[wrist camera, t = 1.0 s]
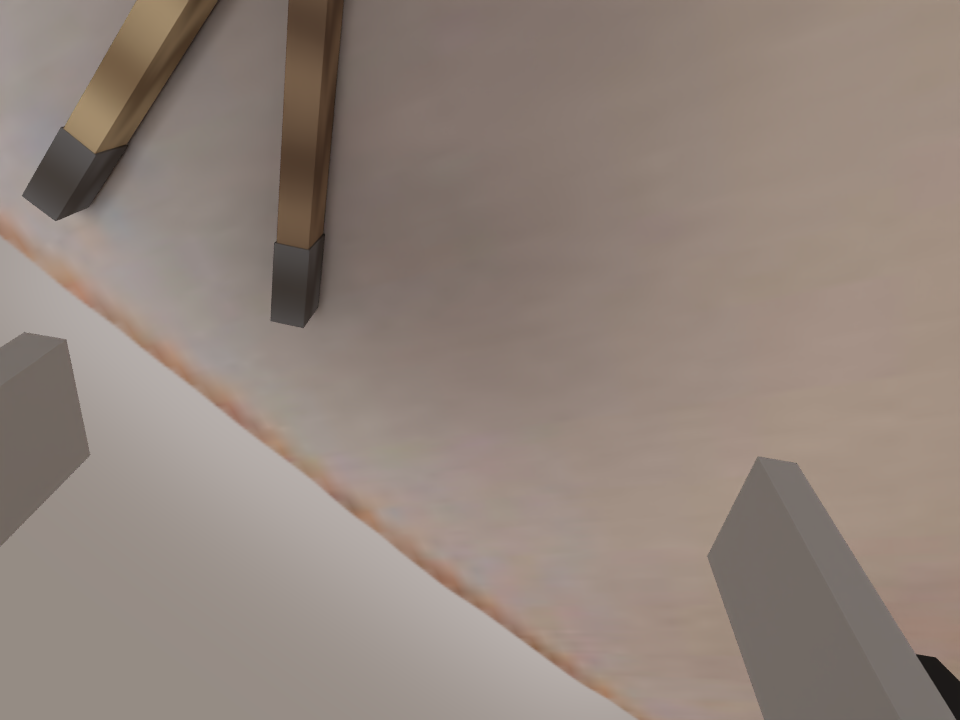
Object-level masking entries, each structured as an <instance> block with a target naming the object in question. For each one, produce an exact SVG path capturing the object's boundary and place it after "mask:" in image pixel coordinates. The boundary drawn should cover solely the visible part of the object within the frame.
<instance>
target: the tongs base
mask: <svg viewBox="0 0 960 720" xmlns="http://www.w3.org/2000/svg"><path fill="white" fill-rule="evenodd" d="M343 3H344V0H289V5H288V25H287V45H286V65H285V85H284V105H283V126H282V146H281V166H280V186H279V206H278V226H277V241H276V242H275V243H274V259H273V280H272V301H271V321H273V322H277V323H282V324H287V325H292V326H296V327H301V328H304V327H305V325H306V324H307V322H308V321H309V319H310V318H311V317H312V315H313V314H314V312H315V311H316V309H317V308H318V303H319V291H320V280H321V269H322V258H323V247H324V236H325V234H323V229H324V217H325V206H326V195H327V183H328V172H329V161H330V149H331V138H332V127H333V116H334V104H335V93H336V82H337V70H338V59H339V48H340V36H341V25H342V14H343Z"/></svg>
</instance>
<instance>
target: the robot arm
mask: <svg viewBox="0 0 960 720" xmlns="http://www.w3.org/2000/svg"><path fill="white" fill-rule="evenodd" d="M89 456H90V452H89V447H88V442H87V437H86V432H85V428H84V423H83V418H82V413H81V408H80V403H79V399H78V394H77V389H76V384H75V380H74V374H73V369H72V364H71V360H70V355H69V350H68V345H67V340H66V339H61V338H55V337H49V336H43V335H37V334H31V333H25V332H24V333H23V334H21V335H19V336H18V337H16V338H15V339H13V340H12V341H10V342H9V343H7V344H5V345H4V346H2V347H0V546H1V545H2V544H3V543H4V542H5V541H6V540H7V539H8V538H9V537H10V536H11V535H12V534H13V533H14V532H15V531H16V530H17V529H18V528H19V527H20V526H21V525H22V524H23V523H24V522H25V521H26V520H27V519H28V518H29V517H30V516H31V515H32V514H33V513H34V512H35V511H36V510H37V508H39V507H40V506H41V505H42V504H43V503H44V501H46V499H48V498H49V497H50V495H52V494H53V493H54V491H55V490H57V489H58V487H59V486H60V485H61V484H62V483H63V482H64V481H65V480H66V479H67V478H68V477H69V476H70V475H71V474H72V473H73V472H74V471H75V470H76V469H77V468H78V467H79V466H80V465H81V464H82V463H83V462H84V461H85V460H86V459H87V458H88V457H89ZM707 557H708V560H709V563H710V565H711V568H712V571H713V574H714V577H715V580H716V583H717V586H718V588H719V591H720V594H721V597H722V600H723V603H724V606H725V608H726V611H727V614H728V617H729V620H730V623H731V626H732V629H733V631H734V634H735V637H736V640H737V643H738V646H739V649H740V652H741V654H742V657H743V660H744V663H745V666H746V669H747V672H748V675H749V677H750V680H751V683H752V686H753V689H754V692H755V695H756V698H757V700H758V703H759V706H760V709H761V712H762V715H763V718H764V720H960V681H959V680H958V679H957V678H956V677H955V676H954V675H953V674H952V673H951V672H950V671H949V670H948V669H947V668H946V667H945V666H944V665H943V664H942V663H941V662H940V661H939V660H938V659H937V658H936V657H930V656H924V655H917V654H915V653H914V651H913V649H912V648H911V646H910V644H909V643H908V641H907V640H906V638H905V636H904V635H903V633H902V632H901V630H900V628H899V627H898V625H897V624H896V622H895V620H894V619H893V617H892V616H891V614H890V612H889V611H888V609H887V608H886V606H885V604H884V603H883V601H882V599H881V598H880V596H879V595H878V593H877V591H876V590H875V588H874V587H873V585H872V583H871V582H870V580H869V579H868V577H867V575H866V574H865V572H864V571H863V569H862V567H861V566H860V564H859V563H858V561H857V559H856V558H855V556H854V554H853V553H852V551H851V550H850V548H849V546H848V545H847V543H846V542H845V540H844V538H843V537H842V535H841V534H840V532H839V530H838V529H837V527H836V526H835V524H834V522H833V521H832V519H831V517H830V516H829V514H828V513H827V511H826V509H825V508H824V506H823V505H822V503H821V501H820V500H819V498H818V497H817V495H816V493H815V492H814V490H813V489H812V487H811V485H810V484H809V482H808V481H807V479H806V477H805V476H804V474H803V472H802V471H801V469H800V468H799V466H798V464H797V463H794V462H788V461H782V460H776V459H770V458H764V457H757V459H756V461H755V463H754V465H753V467H752V469H751V471H750V473H749V475H748V477H747V479H746V481H745V483H744V485H743V487H742V489H741V491H740V493H739V495H738V496H737V498H736V500H735V502H734V504H733V506H732V508H731V510H730V512H729V514H728V516H727V518H726V520H725V522H724V524H723V526H722V528H721V530H720V532H719V534H718V536H717V538H716V540H715V542H714V544H713V546H712V548H711V550H710V552H709V554H708V556H707Z"/></svg>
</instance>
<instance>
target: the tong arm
mask: <svg viewBox="0 0 960 720" xmlns="http://www.w3.org/2000/svg"><path fill="white" fill-rule="evenodd" d="M217 1H218V0H137V1H136V3H135V4H134V6H133V8H132V10H131V11H130V13H129V15H128V17H127V18H126V20H125V22H124V24H123V25H122V27H121V29H120V31H119V32H118V34H117V36H116V38H115V39H114V41H113V43H112V45H111V46H110V48H109V50H108V51H107V53H106V55H105V57H104V58H103V60H102V62H101V64H100V65H99V67H98V69H97V71H96V72H95V74H94V76H93V78H92V79H91V81H90V83H89V85H88V86H87V88H86V90H85V92H84V93H83V95H82V97H81V99H80V100H79V102H78V104H77V106H76V107H75V109H74V111H73V113H72V114H71V116H70V118H69V120H68V121H67V123H66V125H65V126H64V127H61V128H60V130H59V132H58V133H57V135H56V137H55V139H54V140H53V142H52V144H51V146H50V147H49V149H48V151H47V153H46V154H45V156H44V158H43V160H42V161H41V163H40V165H39V167H38V168H37V170H36V172H35V174H34V175H33V177H32V179H31V181H30V182H29V184H28V186H27V188H26V189H25V191H24V193H23V195H22V196H23V197H24V198H25V199H27V200H28V201H29V202H31V203H32V204H33V205H35V206H36V207H37V208H39V209H40V210H41V211H43V212H44V213H45V214H47V215H48V216H49V217H51V218H52V219H53V220H55V221H57V220H60V219H62V218H64V217H67V216H69V215H71V214H74V213H76V212H78V211H81V210H83V209H86V208H88V207H89V206H90V204H91V203H92V201H93V200H94V198H95V196H96V195H97V193H98V192H99V190H100V189H101V187H102V185H103V184H104V182H105V181H106V179H107V178H108V176H109V174H110V173H111V171H112V170H113V168H114V167H115V165H116V163H117V162H118V160H119V159H120V157H121V156H122V154H123V152H124V151H125V149H126V148H127V146H128V145H127V143H128V141H129V140H130V138H131V137H132V135H133V134H134V132H135V130H136V129H137V127H138V126H139V124H140V122H141V121H142V119H143V118H144V116H145V115H146V113H147V111H148V110H149V108H150V107H151V105H152V104H153V102H154V100H155V99H156V97H157V96H158V94H159V93H160V91H161V89H162V88H163V86H164V85H165V83H166V81H167V80H168V78H169V77H170V75H171V74H172V72H173V70H174V69H175V67H176V66H177V64H178V63H179V61H180V59H181V58H182V56H183V55H184V53H185V52H186V50H187V48H188V47H189V45H190V44H191V42H192V40H193V39H194V37H195V36H196V34H197V33H198V31H199V29H200V28H201V26H202V25H203V23H204V22H205V20H206V18H207V17H208V15H209V14H210V12H211V11H212V9H213V7H214V6H215V4H216V3H217Z"/></svg>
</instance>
